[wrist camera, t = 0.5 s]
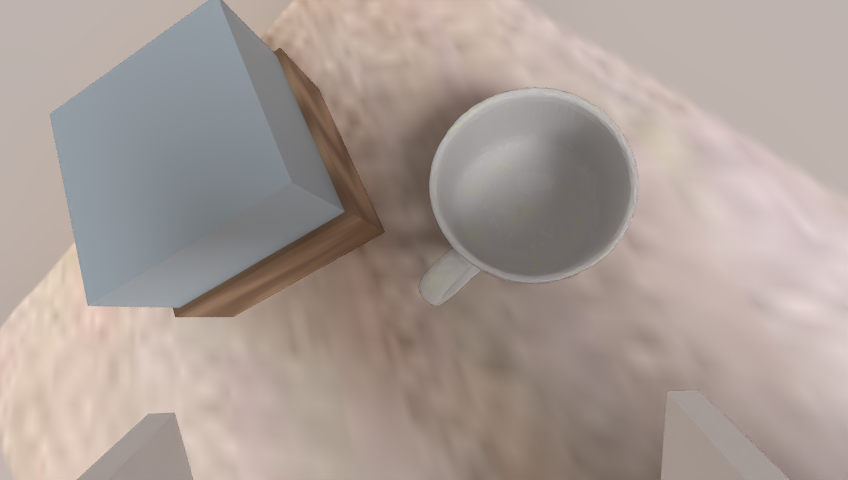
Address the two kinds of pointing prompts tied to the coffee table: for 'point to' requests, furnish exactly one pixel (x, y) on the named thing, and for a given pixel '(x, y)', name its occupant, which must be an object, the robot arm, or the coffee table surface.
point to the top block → (188, 165)
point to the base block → (313, 246)
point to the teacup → (528, 190)
